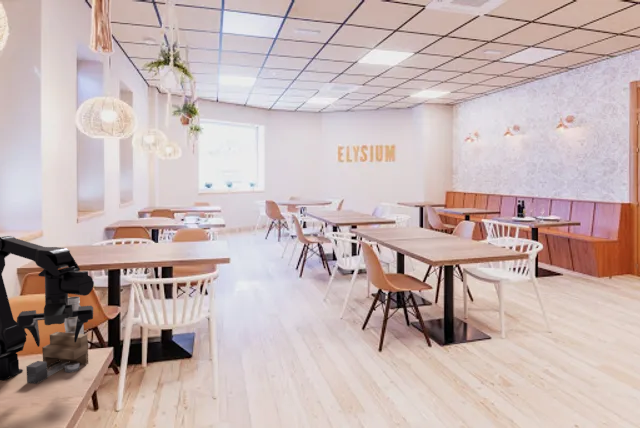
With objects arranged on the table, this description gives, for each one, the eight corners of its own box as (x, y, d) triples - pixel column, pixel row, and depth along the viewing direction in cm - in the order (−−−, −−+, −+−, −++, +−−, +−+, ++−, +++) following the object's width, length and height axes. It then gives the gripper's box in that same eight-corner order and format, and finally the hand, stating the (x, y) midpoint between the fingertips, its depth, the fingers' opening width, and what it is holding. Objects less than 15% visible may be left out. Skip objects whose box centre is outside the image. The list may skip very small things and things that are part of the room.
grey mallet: (27, 382, 127) (26, 366, 127) (60, 365, 139) (59, 350, 139) (36, 384, 127) (35, 367, 126) (69, 366, 139) (68, 351, 138)
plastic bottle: (80, 359, 144) (77, 300, 142) (59, 359, 144) (57, 300, 142) (90, 352, 150) (88, 295, 149) (71, 352, 150) (69, 295, 149)
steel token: (61, 372, 135) (61, 366, 135) (71, 367, 139) (71, 360, 139) (72, 373, 134) (72, 367, 134) (82, 368, 138) (82, 362, 138)
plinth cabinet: (43, 367, 138) (41, 338, 137) (58, 359, 144) (56, 331, 143) (74, 370, 136) (73, 341, 135) (88, 362, 141) (87, 334, 141)
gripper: (12, 302, 114) (13, 359, 116) (92, 296, 123) (92, 349, 124) (19, 291, 124) (20, 344, 126) (93, 286, 133) (93, 336, 134)
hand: (57, 344), depth 127 cm, fingers open, 9 cm apart
